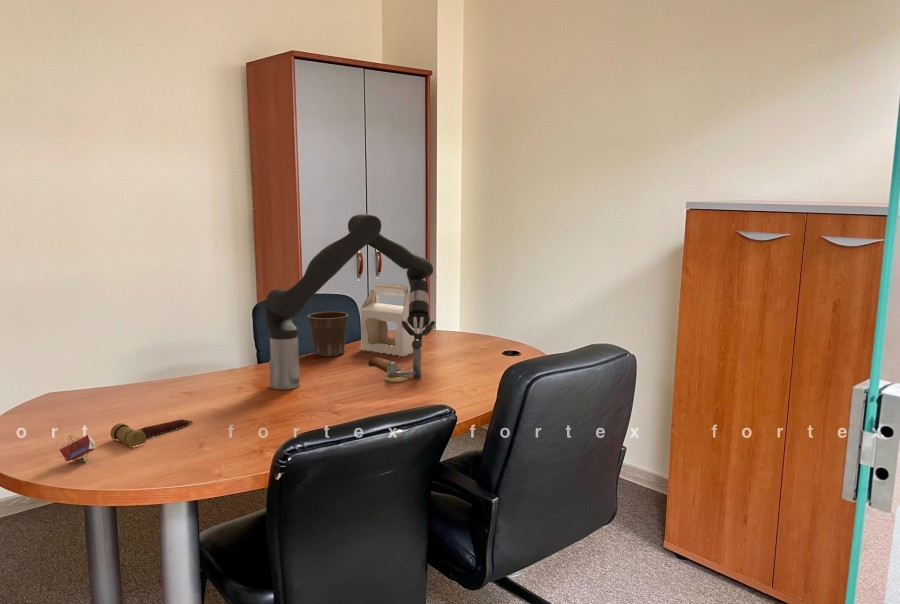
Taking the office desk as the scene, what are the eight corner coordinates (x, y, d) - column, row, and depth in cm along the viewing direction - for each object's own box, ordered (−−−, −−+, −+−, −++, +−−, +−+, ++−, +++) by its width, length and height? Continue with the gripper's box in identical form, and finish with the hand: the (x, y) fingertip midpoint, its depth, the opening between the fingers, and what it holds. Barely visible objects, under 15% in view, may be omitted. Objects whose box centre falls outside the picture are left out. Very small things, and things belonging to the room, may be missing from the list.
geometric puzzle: (55, 462, 161) (75, 432, 163) (51, 453, 167) (71, 424, 168) (83, 474, 165) (103, 445, 167) (79, 464, 171) (98, 436, 172)
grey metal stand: (388, 383, 230) (387, 344, 228) (382, 377, 238) (381, 339, 236) (425, 379, 235) (425, 341, 233) (418, 374, 242) (418, 336, 240)
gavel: (182, 410, 197) (202, 417, 191) (182, 425, 198) (202, 433, 192) (110, 425, 181) (129, 433, 175) (110, 441, 181) (129, 450, 175)
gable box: (360, 350, 285) (359, 283, 280) (380, 344, 296) (379, 280, 291) (403, 357, 273) (403, 288, 269) (422, 350, 284) (422, 284, 280)
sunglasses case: (410, 373, 248) (401, 359, 246) (395, 385, 246) (386, 371, 243) (387, 363, 263) (379, 349, 261) (373, 374, 261) (365, 360, 258)
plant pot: (304, 351, 282) (303, 312, 280) (342, 347, 289) (341, 310, 286) (314, 360, 268) (313, 319, 265) (354, 356, 274) (353, 316, 272)
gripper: (401, 299, 254) (399, 338, 244) (436, 299, 254) (436, 338, 244) (401, 310, 260) (400, 349, 250) (436, 310, 260) (436, 349, 250)
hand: (418, 344), depth 247 cm, fingers closed
